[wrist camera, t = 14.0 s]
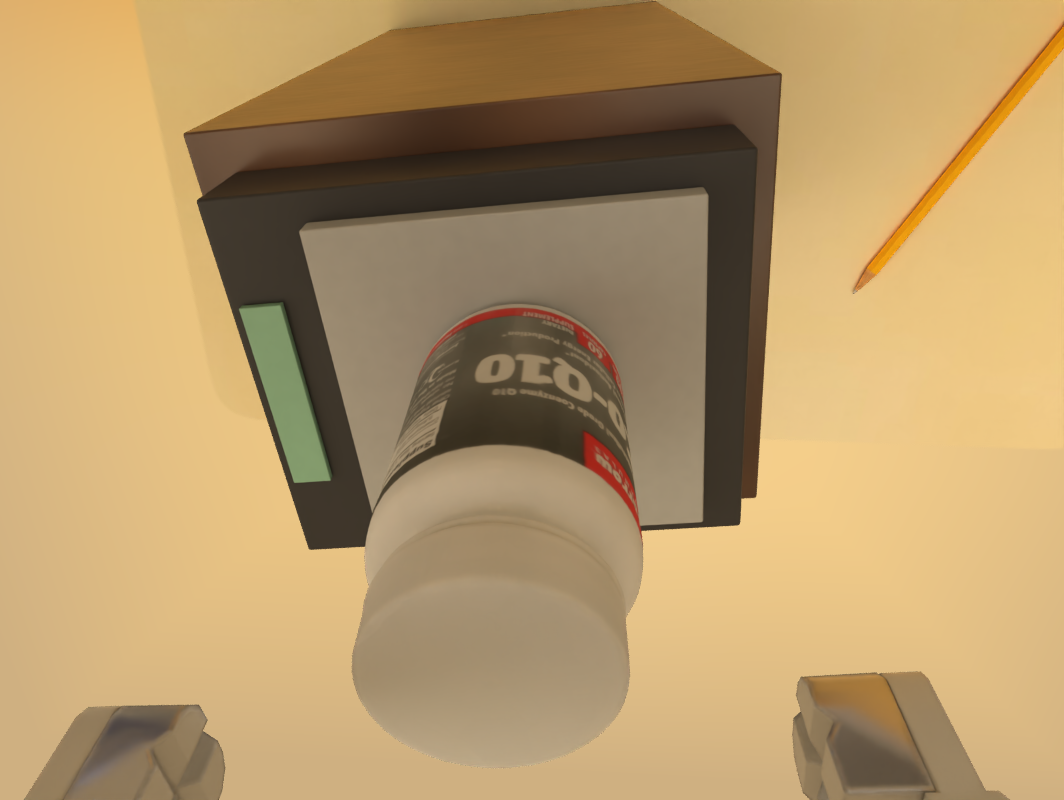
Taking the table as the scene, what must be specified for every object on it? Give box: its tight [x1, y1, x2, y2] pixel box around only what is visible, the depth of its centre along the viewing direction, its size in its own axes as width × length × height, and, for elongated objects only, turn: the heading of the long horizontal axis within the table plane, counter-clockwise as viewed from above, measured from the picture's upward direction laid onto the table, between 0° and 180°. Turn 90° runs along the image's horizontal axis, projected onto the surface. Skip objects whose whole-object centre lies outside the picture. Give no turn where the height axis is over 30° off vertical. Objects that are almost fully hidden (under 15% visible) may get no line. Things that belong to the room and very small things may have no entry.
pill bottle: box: [352, 304, 643, 768], centre depth 14 cm, size 5×5×8 cm
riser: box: [184, 1, 782, 498], centre depth 32 cm, size 14×12×26 cm
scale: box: [197, 125, 758, 550], centre depth 19 cm, size 12×10×3 cm
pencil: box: [853, 26, 1064, 294], centre depth 43 cm, size 1×19×1 cm, turn 152°
